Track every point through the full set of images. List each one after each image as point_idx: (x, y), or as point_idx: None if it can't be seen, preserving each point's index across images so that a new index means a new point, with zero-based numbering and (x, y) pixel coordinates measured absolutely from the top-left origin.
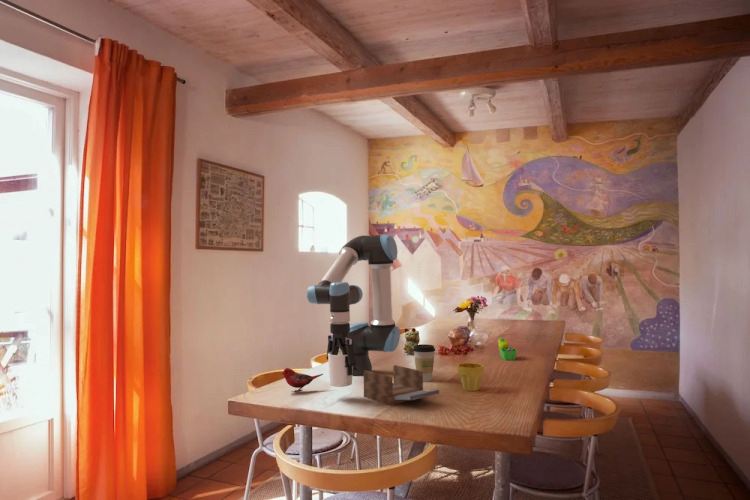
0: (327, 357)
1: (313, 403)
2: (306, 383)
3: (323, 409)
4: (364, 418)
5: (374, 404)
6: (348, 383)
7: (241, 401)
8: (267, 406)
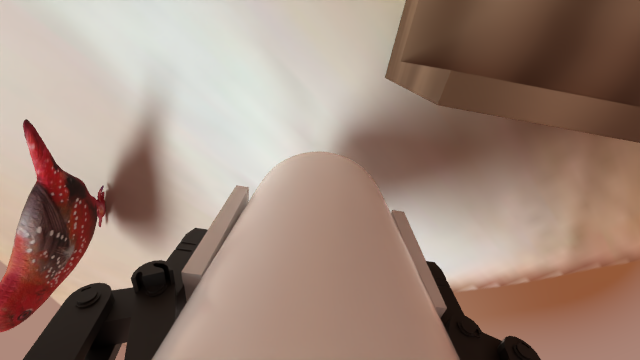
0: (102, 350)
1: None
2: (87, 199)
3: None
4: (541, 278)
5: (505, 149)
6: None
7: None
8: None
